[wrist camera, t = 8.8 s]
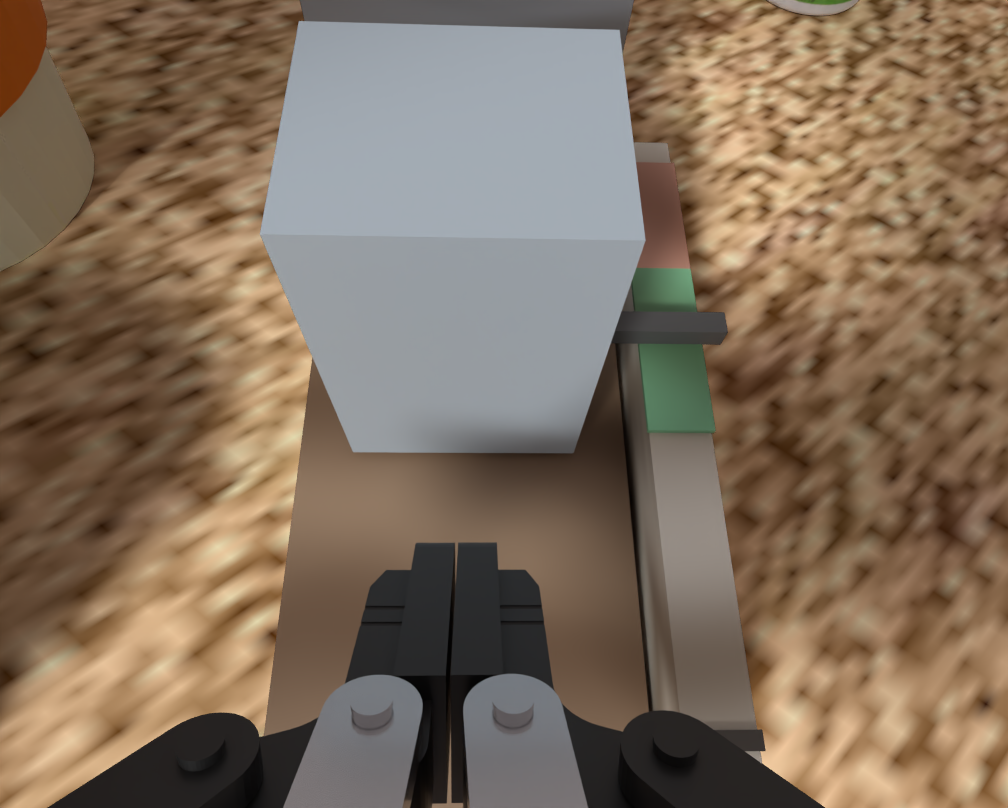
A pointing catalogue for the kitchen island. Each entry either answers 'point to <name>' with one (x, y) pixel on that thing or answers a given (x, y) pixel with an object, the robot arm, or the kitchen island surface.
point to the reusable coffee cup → (36, 138)
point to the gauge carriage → (461, 230)
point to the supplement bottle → (815, 6)
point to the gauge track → (543, 492)
